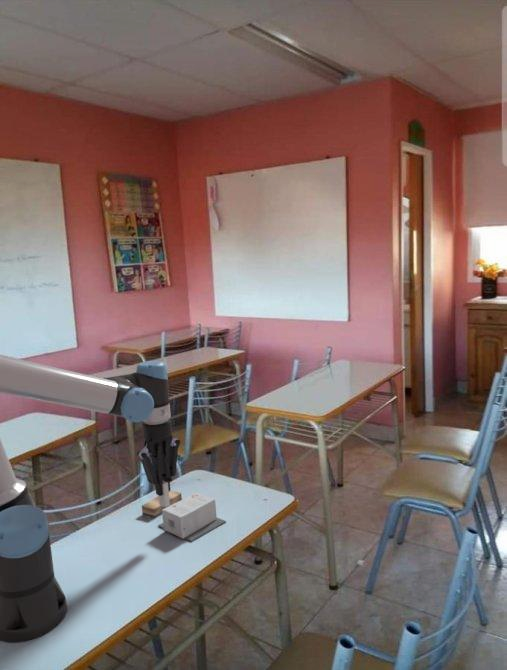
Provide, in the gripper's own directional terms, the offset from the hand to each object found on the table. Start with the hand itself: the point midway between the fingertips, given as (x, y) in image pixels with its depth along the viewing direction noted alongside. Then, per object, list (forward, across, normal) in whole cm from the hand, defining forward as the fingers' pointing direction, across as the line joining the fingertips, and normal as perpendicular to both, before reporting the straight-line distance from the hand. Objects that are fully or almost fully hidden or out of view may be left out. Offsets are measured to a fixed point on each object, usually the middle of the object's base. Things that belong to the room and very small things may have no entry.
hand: (164, 504), depth 148 cm
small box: (+6, +1, 0) cm, 6 cm away
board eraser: (+10, +10, +15) cm, 21 cm away
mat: (+10, +9, 0) cm, 13 cm away
